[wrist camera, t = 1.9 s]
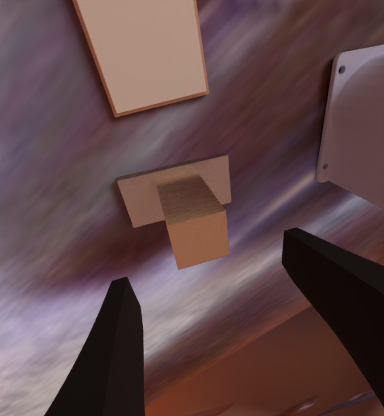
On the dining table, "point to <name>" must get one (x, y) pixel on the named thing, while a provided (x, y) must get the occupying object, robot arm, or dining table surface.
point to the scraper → (184, 205)
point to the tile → (145, 51)
